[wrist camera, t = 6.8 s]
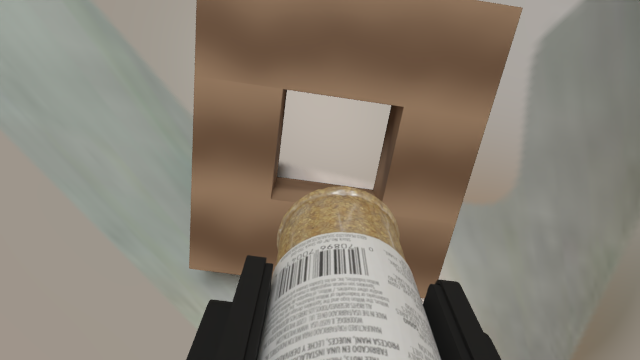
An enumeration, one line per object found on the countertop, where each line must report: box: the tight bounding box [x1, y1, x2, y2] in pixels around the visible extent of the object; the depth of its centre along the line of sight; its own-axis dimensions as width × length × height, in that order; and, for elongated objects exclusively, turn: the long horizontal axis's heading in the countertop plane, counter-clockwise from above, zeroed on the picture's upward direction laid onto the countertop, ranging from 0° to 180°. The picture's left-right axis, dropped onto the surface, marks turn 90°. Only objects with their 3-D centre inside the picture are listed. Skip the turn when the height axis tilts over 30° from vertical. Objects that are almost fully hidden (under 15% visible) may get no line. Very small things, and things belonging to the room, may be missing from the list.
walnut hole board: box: [189, 0, 522, 298], centre depth 25 cm, size 18×16×4 cm
